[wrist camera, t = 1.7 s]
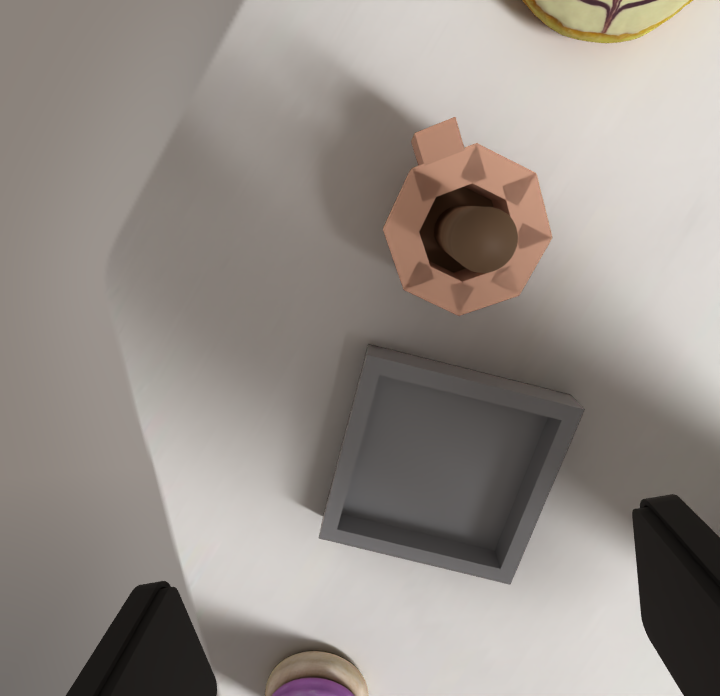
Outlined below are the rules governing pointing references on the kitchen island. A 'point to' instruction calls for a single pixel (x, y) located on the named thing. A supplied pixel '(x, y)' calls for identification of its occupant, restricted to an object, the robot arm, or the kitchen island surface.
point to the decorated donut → (604, 17)
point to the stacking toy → (315, 676)
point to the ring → (486, 177)
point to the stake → (468, 233)
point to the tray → (446, 464)
